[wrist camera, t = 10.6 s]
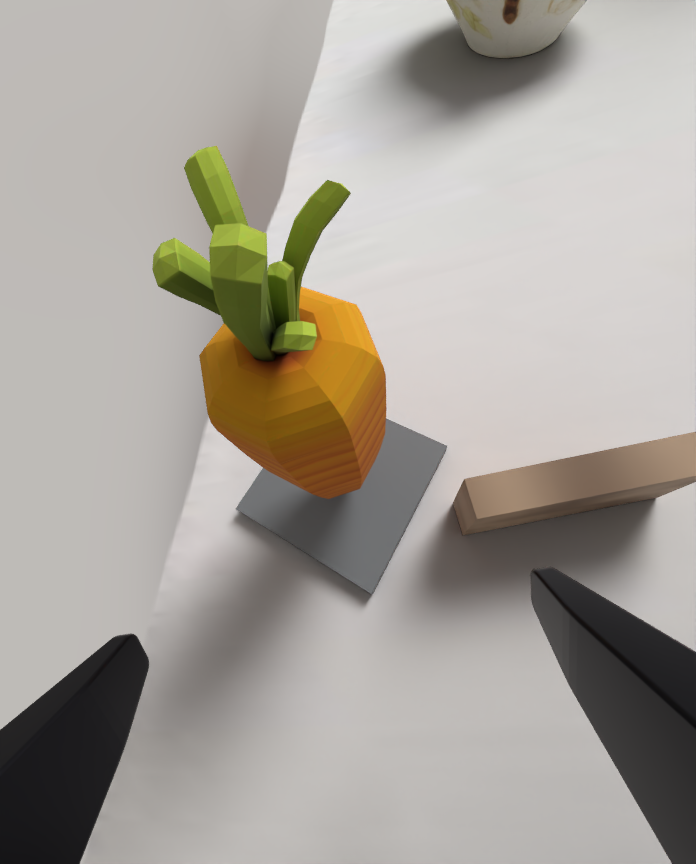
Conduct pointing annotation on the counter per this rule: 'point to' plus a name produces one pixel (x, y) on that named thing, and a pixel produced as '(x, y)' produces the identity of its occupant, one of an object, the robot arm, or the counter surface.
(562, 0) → the sugar bowl
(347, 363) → the carrot
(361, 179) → the counter surface
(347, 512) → the charcoal mat
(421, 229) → the counter surface
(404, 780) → the counter surface
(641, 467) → the walnut block
